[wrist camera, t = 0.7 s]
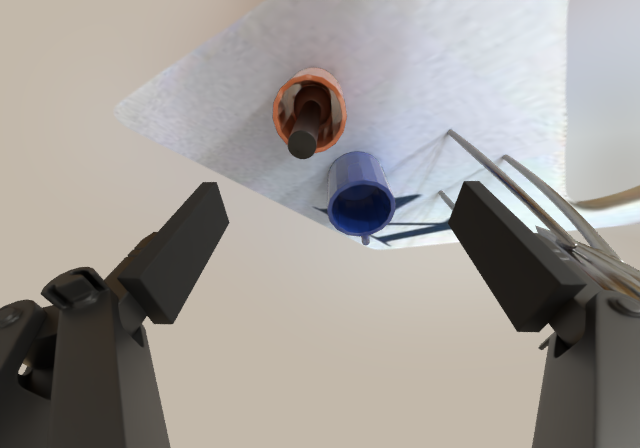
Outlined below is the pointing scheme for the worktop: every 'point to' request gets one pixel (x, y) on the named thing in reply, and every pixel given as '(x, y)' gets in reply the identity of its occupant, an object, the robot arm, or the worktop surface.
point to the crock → (285, 110)
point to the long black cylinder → (308, 120)
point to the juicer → (591, 260)
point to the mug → (359, 195)
